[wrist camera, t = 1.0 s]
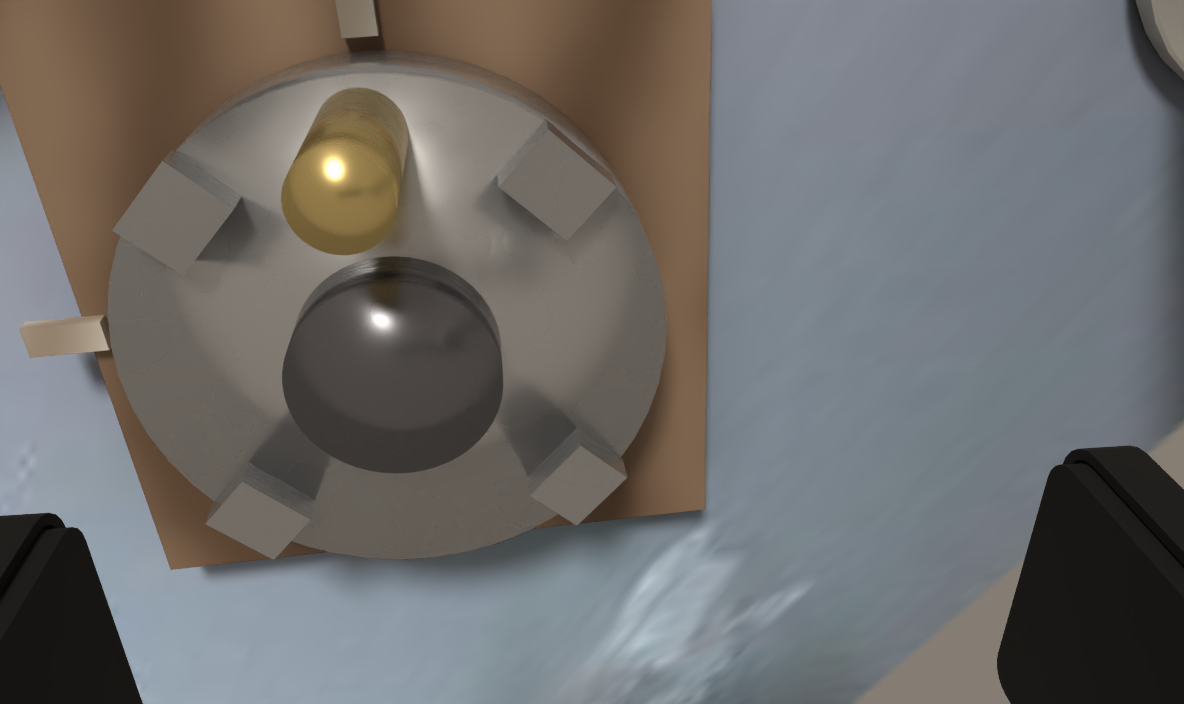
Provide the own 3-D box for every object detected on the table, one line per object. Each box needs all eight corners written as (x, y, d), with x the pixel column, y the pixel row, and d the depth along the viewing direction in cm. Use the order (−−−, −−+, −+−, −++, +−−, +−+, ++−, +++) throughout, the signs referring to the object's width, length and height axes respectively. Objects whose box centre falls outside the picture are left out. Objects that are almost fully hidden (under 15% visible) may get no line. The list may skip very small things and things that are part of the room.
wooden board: (697, -59, 29) (716, -50, 26) (694, 478, 38) (707, 517, 36) (-62, -9, 27) (-108, 6, 25) (139, 539, 37) (119, 584, 35)
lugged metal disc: (645, 29, 27) (707, 104, 20) (653, 477, 35) (701, 644, 28) (68, 72, 26) (-80, 167, 19) (210, 526, 34) (144, 713, 27)
